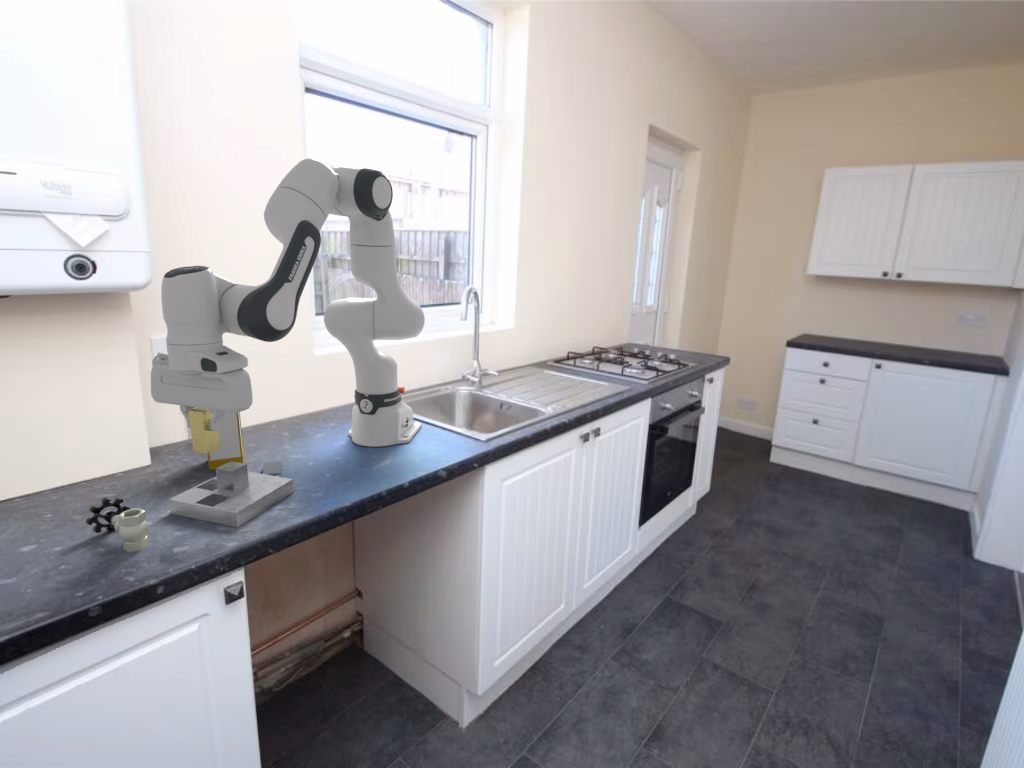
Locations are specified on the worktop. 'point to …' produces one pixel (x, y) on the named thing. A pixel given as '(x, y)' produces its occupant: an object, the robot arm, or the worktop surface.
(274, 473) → the bracket
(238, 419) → the soap bottle
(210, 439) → the yellow rectangular block
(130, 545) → the valve
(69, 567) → the worktop surface
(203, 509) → the square plinth with cube
